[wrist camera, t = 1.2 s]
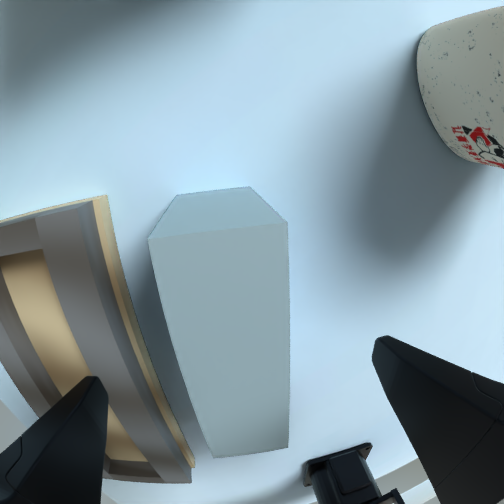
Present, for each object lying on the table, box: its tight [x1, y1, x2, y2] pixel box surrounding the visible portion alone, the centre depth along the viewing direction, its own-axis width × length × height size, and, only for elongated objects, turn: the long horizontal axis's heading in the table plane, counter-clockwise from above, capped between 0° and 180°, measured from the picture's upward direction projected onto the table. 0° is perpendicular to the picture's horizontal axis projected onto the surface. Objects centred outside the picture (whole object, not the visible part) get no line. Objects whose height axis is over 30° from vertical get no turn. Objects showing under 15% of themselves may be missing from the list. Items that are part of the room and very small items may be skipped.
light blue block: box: [147, 187, 290, 458], centre depth 10 cm, size 9×3×6 cm, turn 4°
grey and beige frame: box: [0, 195, 195, 483], centre depth 13 cm, size 20×9×2 cm, turn 4°
